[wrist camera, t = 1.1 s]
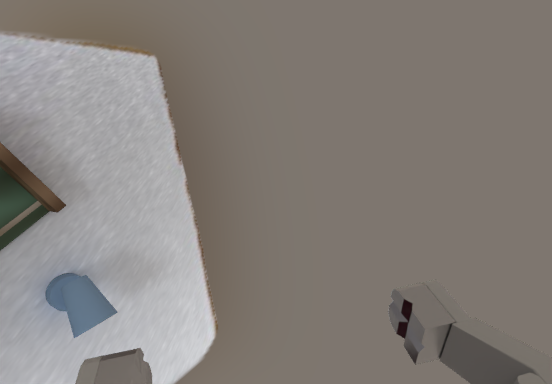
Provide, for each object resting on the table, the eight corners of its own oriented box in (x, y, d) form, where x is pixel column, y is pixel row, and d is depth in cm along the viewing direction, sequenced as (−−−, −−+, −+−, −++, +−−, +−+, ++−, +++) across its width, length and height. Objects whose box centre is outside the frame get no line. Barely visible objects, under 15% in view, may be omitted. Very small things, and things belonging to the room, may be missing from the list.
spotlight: (95, 305, 46) (77, 261, 44) (127, 324, 39) (109, 273, 38) (56, 327, 42) (35, 279, 41) (85, 351, 36) (62, 296, 34)
